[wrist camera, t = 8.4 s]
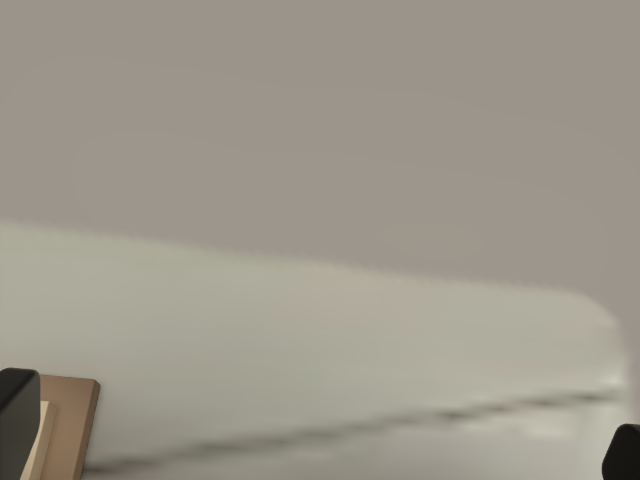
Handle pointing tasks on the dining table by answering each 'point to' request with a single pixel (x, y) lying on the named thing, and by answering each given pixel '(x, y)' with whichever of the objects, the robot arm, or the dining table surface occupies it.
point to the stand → (62, 428)
